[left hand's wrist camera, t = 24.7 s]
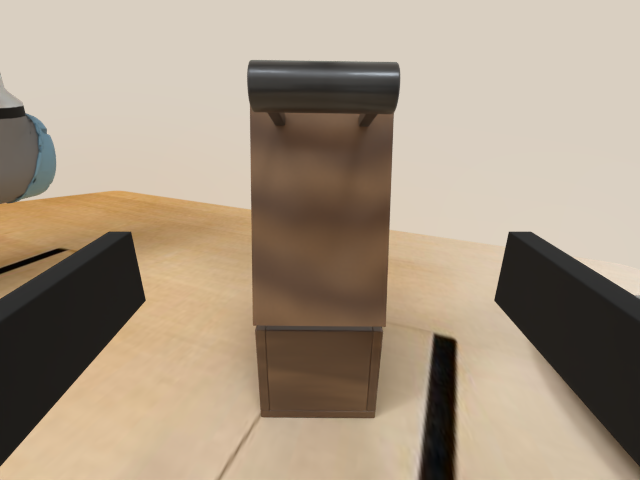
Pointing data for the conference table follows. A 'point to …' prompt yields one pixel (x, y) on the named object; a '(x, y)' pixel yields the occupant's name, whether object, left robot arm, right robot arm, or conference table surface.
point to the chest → (318, 370)
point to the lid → (321, 190)
